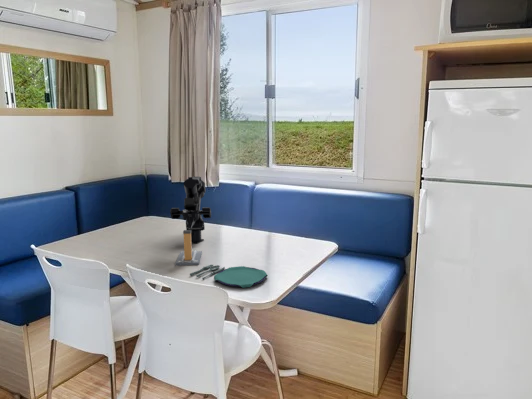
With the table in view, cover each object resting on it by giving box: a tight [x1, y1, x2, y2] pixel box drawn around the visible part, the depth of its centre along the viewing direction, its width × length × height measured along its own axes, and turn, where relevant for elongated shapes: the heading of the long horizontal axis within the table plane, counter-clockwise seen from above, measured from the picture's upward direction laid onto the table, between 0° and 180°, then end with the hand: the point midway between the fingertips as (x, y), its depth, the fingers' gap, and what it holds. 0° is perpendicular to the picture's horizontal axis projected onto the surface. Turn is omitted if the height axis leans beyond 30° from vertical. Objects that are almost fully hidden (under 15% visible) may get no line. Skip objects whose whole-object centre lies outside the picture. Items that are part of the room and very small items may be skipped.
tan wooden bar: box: [182, 229, 193, 260], centre depth 181 cm, size 2×3×13 cm
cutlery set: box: [189, 264, 269, 289], centre depth 165 cm, size 20×30×2 cm, turn 60°
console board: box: [175, 249, 203, 266], centre depth 186 cm, size 16×10×2 cm, turn 4°
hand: (190, 228), depth 190 cm, fingers closed
